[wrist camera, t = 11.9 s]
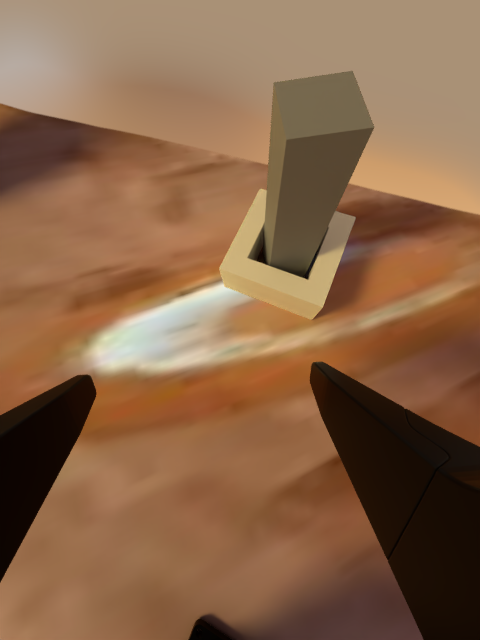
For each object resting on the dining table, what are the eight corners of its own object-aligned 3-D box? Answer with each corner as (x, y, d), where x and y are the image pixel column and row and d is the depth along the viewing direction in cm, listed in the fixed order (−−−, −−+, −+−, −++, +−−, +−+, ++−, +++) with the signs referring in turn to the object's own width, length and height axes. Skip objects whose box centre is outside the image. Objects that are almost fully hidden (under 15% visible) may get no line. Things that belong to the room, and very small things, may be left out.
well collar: (340, 242, 25) (355, 217, 22) (311, 320, 23) (322, 307, 19) (259, 216, 27) (260, 188, 23) (224, 286, 25) (219, 268, 21)
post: (303, 277, 25) (374, 127, 10) (267, 282, 25) (286, 139, 10) (297, 246, 26) (352, 71, 11) (262, 250, 26) (273, 82, 11)
